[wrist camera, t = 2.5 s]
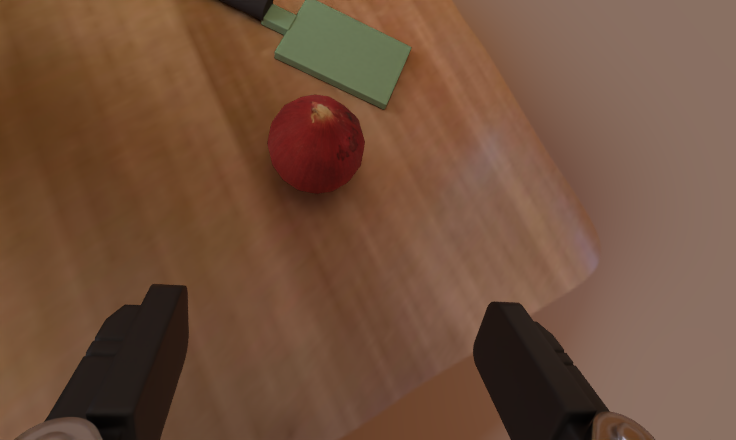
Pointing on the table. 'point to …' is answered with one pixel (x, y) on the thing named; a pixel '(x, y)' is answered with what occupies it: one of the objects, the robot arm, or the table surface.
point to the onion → (316, 144)
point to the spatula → (333, 47)
